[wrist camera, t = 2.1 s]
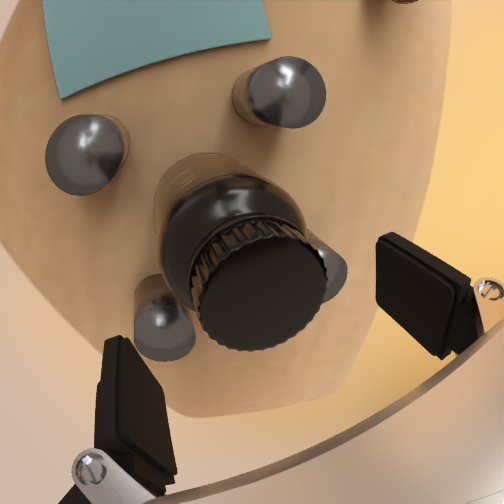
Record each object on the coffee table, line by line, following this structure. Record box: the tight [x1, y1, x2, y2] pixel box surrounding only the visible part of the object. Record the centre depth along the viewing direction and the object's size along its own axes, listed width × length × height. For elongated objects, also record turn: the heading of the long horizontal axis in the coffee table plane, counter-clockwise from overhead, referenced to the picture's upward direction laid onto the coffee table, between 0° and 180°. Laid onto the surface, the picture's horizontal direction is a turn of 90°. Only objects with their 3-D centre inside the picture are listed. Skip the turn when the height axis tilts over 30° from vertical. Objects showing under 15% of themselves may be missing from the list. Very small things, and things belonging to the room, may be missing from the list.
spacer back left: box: [134, 274, 196, 362], centre depth 20 cm, size 4×4×5 cm
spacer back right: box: [307, 229, 347, 303], centre depth 22 cm, size 4×4×5 cm
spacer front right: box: [232, 56, 326, 128], centre depth 16 cm, size 4×4×5 cm
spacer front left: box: [45, 115, 129, 196], centre depth 14 cm, size 4×4×5 cm
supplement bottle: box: [154, 153, 328, 352], centre depth 15 cm, size 7×7×12 cm
